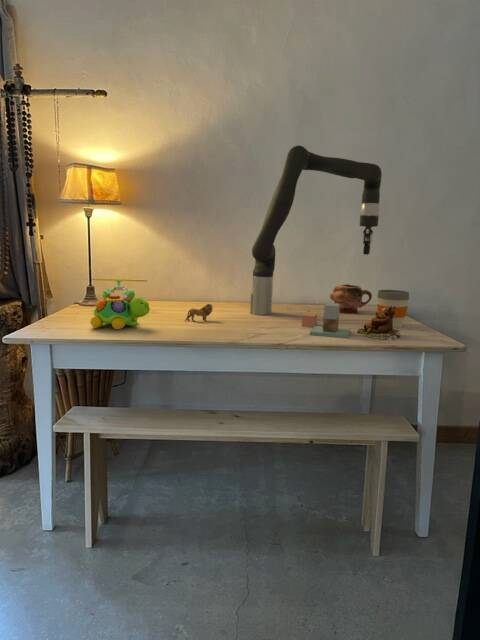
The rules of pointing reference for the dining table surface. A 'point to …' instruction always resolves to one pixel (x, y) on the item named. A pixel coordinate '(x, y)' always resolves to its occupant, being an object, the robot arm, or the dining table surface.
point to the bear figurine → (381, 325)
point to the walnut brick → (330, 325)
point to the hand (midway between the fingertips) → (366, 254)
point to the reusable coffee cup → (394, 304)
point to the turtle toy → (119, 311)
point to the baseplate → (340, 332)
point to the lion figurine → (200, 312)
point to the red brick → (309, 320)
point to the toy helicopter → (119, 288)
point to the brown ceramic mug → (349, 298)
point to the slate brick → (331, 310)
